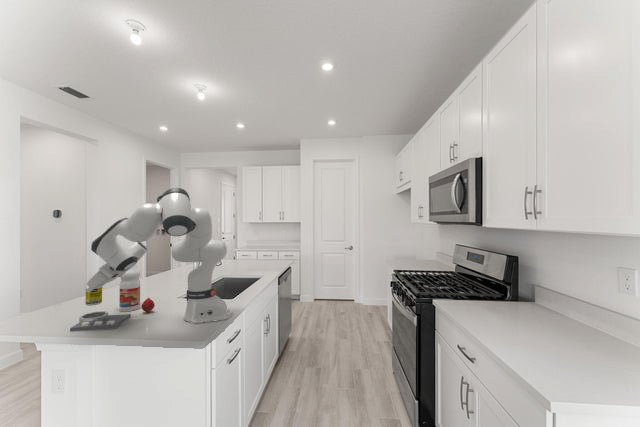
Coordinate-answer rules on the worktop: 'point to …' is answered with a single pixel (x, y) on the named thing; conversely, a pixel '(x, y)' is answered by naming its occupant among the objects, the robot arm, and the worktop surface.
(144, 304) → the strawberry
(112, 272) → the robot arm
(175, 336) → the worktop surface
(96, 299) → the pill bottle
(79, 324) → the plate
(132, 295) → the fruit juice
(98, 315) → the lockout collar
